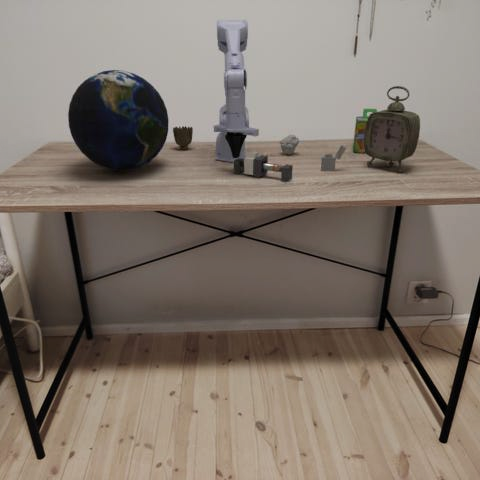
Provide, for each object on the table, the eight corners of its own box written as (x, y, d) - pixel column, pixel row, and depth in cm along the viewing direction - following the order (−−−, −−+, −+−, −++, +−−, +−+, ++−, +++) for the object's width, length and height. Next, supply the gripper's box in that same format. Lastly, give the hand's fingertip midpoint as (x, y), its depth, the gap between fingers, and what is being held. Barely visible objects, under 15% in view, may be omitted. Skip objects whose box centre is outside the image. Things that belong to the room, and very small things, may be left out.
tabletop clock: (360, 166, 143) (370, 85, 132) (374, 160, 149) (384, 83, 138) (403, 175, 134) (417, 89, 123) (415, 168, 140) (429, 86, 129)
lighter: (321, 171, 139) (323, 146, 135) (320, 169, 140) (322, 144, 137) (344, 171, 139) (346, 146, 135) (343, 169, 140) (345, 144, 137)
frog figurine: (298, 156, 154) (299, 137, 151) (278, 156, 155) (279, 136, 152) (298, 152, 160) (299, 133, 157) (279, 152, 161) (280, 132, 158)
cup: (192, 151, 162) (191, 129, 158) (172, 151, 162) (171, 129, 159) (194, 146, 169) (193, 125, 165) (175, 146, 169) (174, 125, 165)
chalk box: (352, 153, 159) (357, 110, 152) (352, 147, 167) (356, 106, 160) (379, 154, 157) (384, 111, 151) (377, 148, 165) (383, 107, 159)
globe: (124, 152, 161) (114, 65, 148) (190, 164, 147) (185, 68, 134) (56, 173, 138) (36, 72, 125) (126, 189, 124) (112, 76, 111)
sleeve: (244, 173, 134) (244, 153, 131) (251, 169, 138) (251, 150, 135) (252, 174, 133) (253, 154, 130) (259, 170, 137) (260, 151, 134)
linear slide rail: (233, 173, 137) (233, 160, 135) (239, 170, 139) (239, 157, 138) (287, 182, 129) (287, 167, 127) (291, 178, 132) (292, 164, 130)
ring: (254, 176, 132) (254, 159, 130) (261, 171, 137) (261, 155, 134) (260, 176, 132) (260, 159, 129) (267, 172, 136) (267, 155, 133)
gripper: (207, 112, 130) (209, 157, 136) (251, 116, 124) (251, 163, 130) (219, 109, 136) (221, 152, 142) (262, 112, 129) (261, 157, 135)
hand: (236, 157), depth 136 cm, fingers closed
